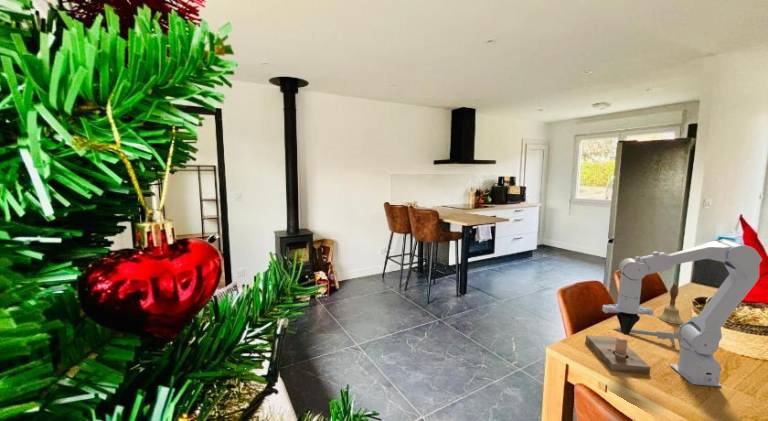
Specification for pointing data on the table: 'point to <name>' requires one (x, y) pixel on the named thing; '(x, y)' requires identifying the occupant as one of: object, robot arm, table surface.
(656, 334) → the caliper
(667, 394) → the table surface
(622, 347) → the peg
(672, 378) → the table surface
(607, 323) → the table surface
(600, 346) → the board
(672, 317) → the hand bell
